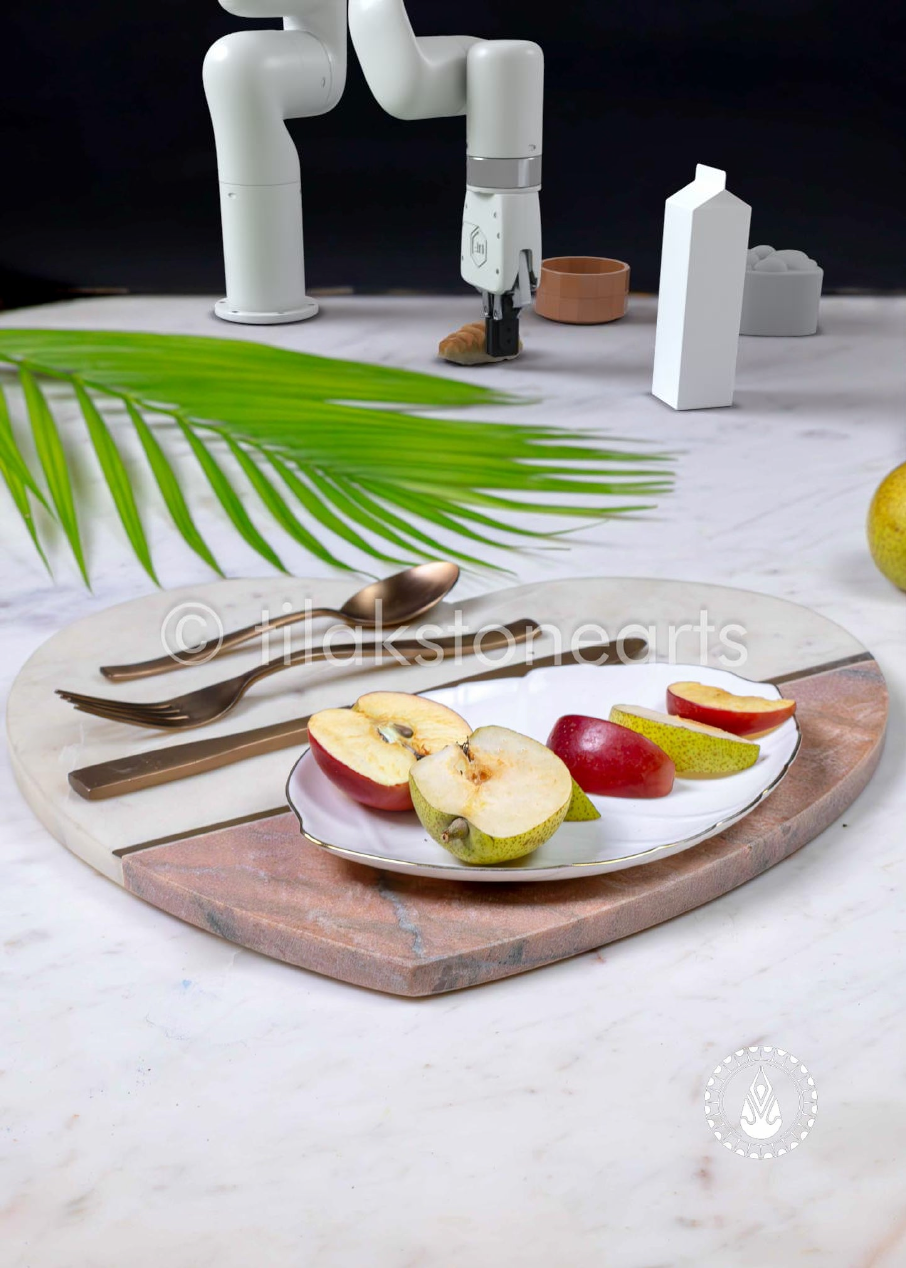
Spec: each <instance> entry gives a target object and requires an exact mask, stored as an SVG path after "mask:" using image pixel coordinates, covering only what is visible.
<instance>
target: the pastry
mask: <svg viewBox="0 0 906 1268" xmlns="http://www.w3.org/2000/svg"><path fill="white" fill-rule="evenodd" d="M523 348H524V343H523V341H522V340H521V336H520V334H519V352H518V354H517V355H513V356H504V357H496V358H494V357H492V356H490V355H488V354H486V353H485V321H476V322H472V323H467V324H465V325H463V326H462V327H461V328H460V329H459V330H457V331H456V332H452V333H450V334H449V335H448V336H447V337H444V338H443V340H441V341H440V342H439V343H438V353H437V357H438V359H439V358H442V359H445V360H447V361H451V362H454V363H457V364H462V365H463V366H464V365H467V366H472V365H474V364H485V363H497V362H502V361H504V360H505V359H507V360H508V361H509V360H513V359H516V358H517V357H519V356H520V355H519V354H520V353H521V352H522V351H523Z"/></svg>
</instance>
